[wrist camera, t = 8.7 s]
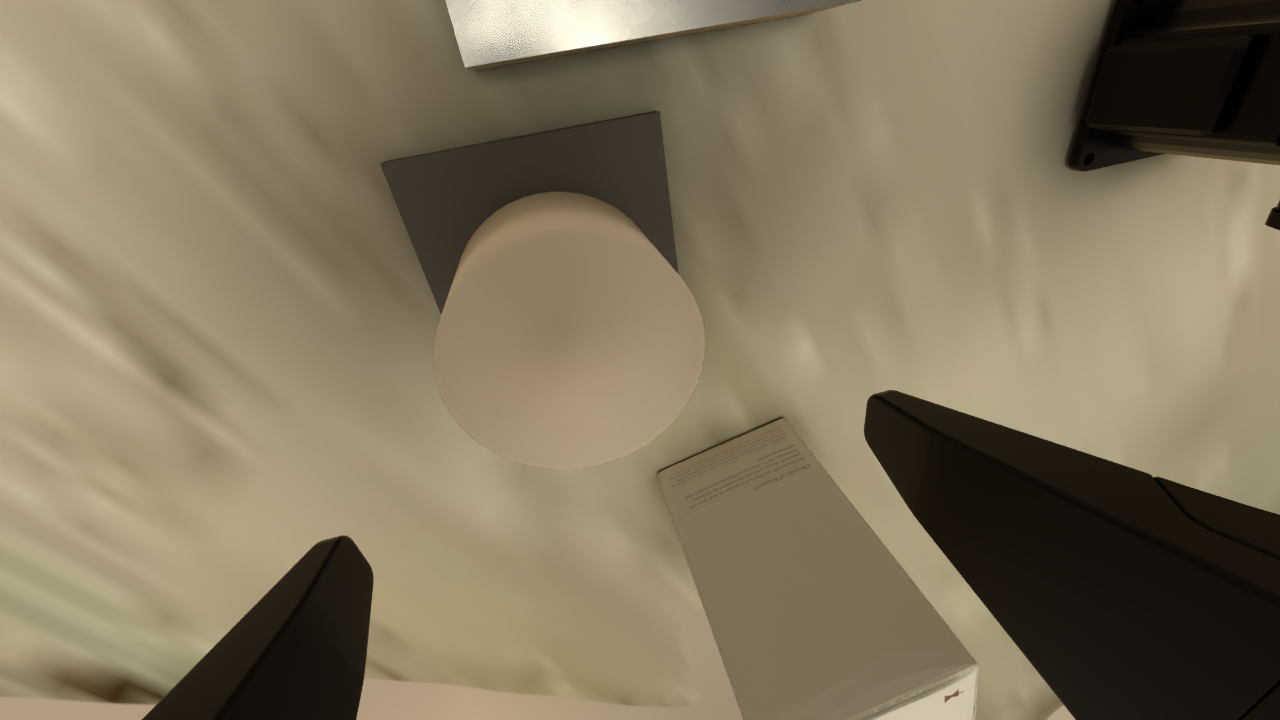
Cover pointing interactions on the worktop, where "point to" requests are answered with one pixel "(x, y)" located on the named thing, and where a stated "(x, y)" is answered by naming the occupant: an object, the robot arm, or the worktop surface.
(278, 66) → the worktop surface
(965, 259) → the worktop surface
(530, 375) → the end cover
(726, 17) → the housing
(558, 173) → the rubber mat
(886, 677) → the supplement box
